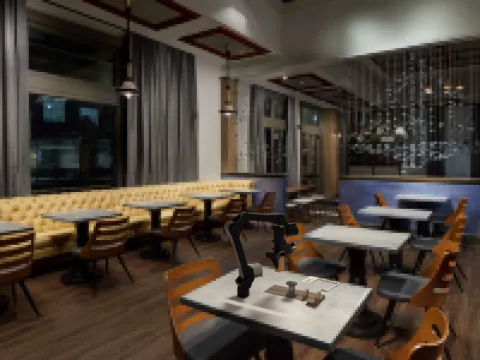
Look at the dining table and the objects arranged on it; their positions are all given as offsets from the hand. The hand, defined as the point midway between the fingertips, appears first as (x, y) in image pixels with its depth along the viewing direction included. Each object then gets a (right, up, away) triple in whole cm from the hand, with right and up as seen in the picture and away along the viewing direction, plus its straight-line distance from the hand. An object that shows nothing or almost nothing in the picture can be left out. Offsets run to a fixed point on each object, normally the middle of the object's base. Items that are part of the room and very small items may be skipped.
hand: (279, 267), depth 177 cm
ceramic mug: (-11, -12, +24) cm, 29 cm away
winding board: (+6, -13, -5) cm, 15 cm away
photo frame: (+23, -12, +12) cm, 28 cm away
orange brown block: (0, -2, 0) cm, 2 cm away
